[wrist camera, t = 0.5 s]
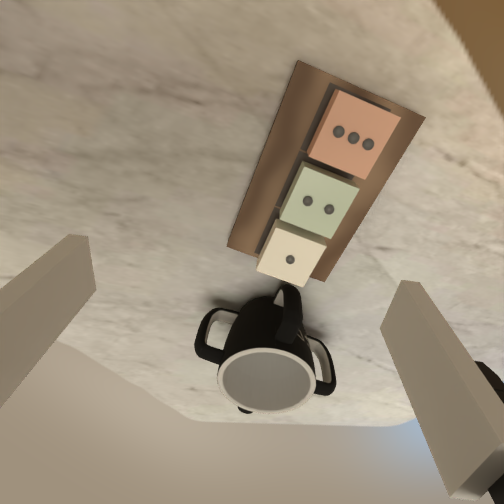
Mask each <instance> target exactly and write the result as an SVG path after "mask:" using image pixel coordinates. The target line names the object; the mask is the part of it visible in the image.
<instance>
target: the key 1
mask: <svg viewBox="0 0 504 504" xmlns="http://www.w3.org/2000/svg"><path fill="white" fill-rule="evenodd" d="M326 247H327V246H326V243H325V239H324V237H323V236H321V235H318V234H315V233H313V232H310V231H308V230H305V229H302V228H300V227H297V226H294V225H292V224H289V223H287V222H284V221H281V220H279V219H276V220H275V222H274V224H273V226H272V228H271V231H270V233H269V235H268V237H267V239H266V242H265V244H264V246H263V248H262V250H261V253H260V255H259V257H258V259H257V265H256V271H258V272H261V273H264V274H267V275H269V276H272V277H275V278H278V279H281V280H283V281H286V282H289V283H292V284H295V285H297V286H300V287H304V285H305V283H306V281H307V280H308V278H309V276H310V275H311V273H312V271H313V269H314V268H315V266H316V264H317V262H318V261H319V259H320V257H321V255H322V254H323V252H324V250H325V249H326Z"/></svg>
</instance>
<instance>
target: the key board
mask: <svg viewBox="0 0 504 504" xmlns="http://www.w3.org/2000/svg"><path fill="white" fill-rule="evenodd" d="M335 89H337V90H340V91H342V92H345V93H347V94H349V95H351V96H354V97H356V98H358V99H360V100H363V101H365V102H367V103H369V104H372V105H374V106H376V107H378V108H381V109H383V110H385V111H387V112H390V113H392V114H394V115H396V116H399V117H401V119H400V120H399V122H398V124H397V126H396V127H395V129H394V131H393V133H392V134H391V136H390V138H389V140H388V141H387V143H386V145H385V146H384V148H383V150H382V152H381V153H380V155H379V157H378V159H377V160H376V162H375V164H374V165H373V167H372V169H371V171H370V172H369V174H368V176H367V178H366V179H365V180H364V179H362V178H359V177H357V176H355V175H352V174H350V173H347V172H345V171H342V170H340V169H338V168H335V167H333V166H330V165H328V164H325V163H323V162H321V161H318V160H316V159H313V158H311V157H309V156H308V153H307V150H308V148H309V145H310V143H311V141H312V139H313V137H314V134H315V132H316V130H317V128H318V126H319V123H320V121H321V119H322V117H323V115H324V113H325V110H326V108H327V106H328V104H329V102H330V99H331V97H332V95H333V93H334V91H335ZM425 118H426V117H424V116H421V115H419V114H417V113H415V112H413V111H410V110H408V109H406V108H404V107H401V106H399V105H397V104H395V103H393V102H390V101H388V100H386V99H384V98H381V97H379V96H377V95H375V94H372V93H370V92H368V91H366V90H364V89H361V88H359V87H357V86H355V85H352V84H350V83H348V82H346V81H344V80H341V79H339V78H337V77H335V76H332V75H330V74H328V73H326V72H324V71H321V70H319V69H317V68H315V67H312V66H310V65H308V64H306V63H304V62H301V61H299V60H298V61H297V64H296V66H295V69H294V72H293V74H292V77H291V79H290V82H289V84H288V87H287V90H286V92H285V95H284V97H283V100H282V103H281V105H280V108H279V110H278V113H277V116H276V118H275V121H274V123H273V126H272V128H271V131H270V134H269V136H268V139H267V141H266V144H265V147H264V149H263V152H262V154H261V157H260V160H259V162H258V165H257V167H256V170H255V172H254V175H253V178H252V180H251V183H250V185H249V188H248V191H247V193H246V196H245V198H244V201H243V204H242V206H241V209H240V211H239V214H238V217H237V219H236V222H235V224H234V227H233V229H232V232H231V235H230V237H229V240H228V243H227V247H229V248H232V249H235V250H237V251H240V252H243V253H246V254H248V255H251V256H254V257H257V258H258V257H259V255H260V253H261V250H262V248H263V246H264V244H265V242H266V239H267V237H268V235H269V233H270V231H271V228H272V226H273V224H274V222H275V220H276V219H279V220H280V209H281V207H282V204H283V202H284V200H285V198H286V196H287V193H288V191H289V189H290V187H291V185H292V183H293V180H294V178H295V176H296V174H297V172H298V169H299V167H300V165H301V163H302V161H305V162H307V163H310V164H312V165H315V166H317V167H320V168H322V169H324V170H327V171H329V172H332V173H334V174H337V175H339V176H342V177H344V178H346V179H349V180H351V181H354V182H355V183H356V184H357V186H358V187H359V189H360V190H359V191H358V193H357V195H356V197H355V198H354V200H353V202H352V204H351V205H350V207H349V209H348V210H347V212H346V214H345V216H344V217H343V219H342V221H341V223H340V224H339V226H338V228H337V230H336V231H335V233H334V235H333V236H332V238H331V239H329V238H327V237H324V236H323V237H324V239H325V243H326V246H327V247H326V249H325V250H324V252H323V254H322V255H321V257H320V259H319V261H318V262H317V264H316V266H315V268H314V269H313V271H312V273H311V275H310V276H309V277H312V278H314V279H317V280H320V281H323V282H325V281H326V279H327V277H328V276H329V274H330V272H331V271H332V269H333V268H334V266H335V264H336V263H337V261H338V259H339V258H340V256H341V255H342V253H343V251H344V250H345V248H346V246H347V245H348V243H349V242H350V240H351V238H352V237H353V235H354V233H355V232H356V230H357V229H358V227H359V225H360V224H361V222H362V220H363V219H364V217H365V216H366V214H367V212H368V211H369V209H370V207H371V206H372V204H373V203H374V201H375V199H376V198H377V196H378V194H379V193H380V191H381V190H382V188H383V186H384V185H385V183H386V181H387V180H388V178H389V177H390V175H391V173H392V172H393V170H394V168H395V167H396V165H397V164H398V162H399V160H400V159H401V157H402V155H403V154H404V152H405V151H406V149H407V147H408V146H409V144H410V142H411V141H412V139H413V138H414V136H415V134H416V133H417V131H418V129H419V128H420V126H421V124H422V123H423V121H424V120H425ZM281 221H282V220H281ZM284 222H285V221H284ZM287 223H288V222H287ZM289 224H290V223H289ZM292 225H293V224H292ZM294 226H295V225H294ZM297 227H298V226H297ZM300 228H301V227H300ZM302 229H303V228H302ZM305 230H306V229H305ZM308 231H309V230H308ZM310 232H311V231H310ZM313 233H314V232H313ZM315 234H316V233H315ZM318 235H319V234H318ZM321 236H322V235H321Z"/></svg>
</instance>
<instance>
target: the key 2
mask: <svg viewBox="0 0 504 504" xmlns="http://www.w3.org/2000/svg"><path fill="white" fill-rule="evenodd" d="M359 190H360V189H359V187H358V186H357V184H356V183H355V182H354V181H351V180H349V179H346V178H344V177H342V176H339V175H337V174H334V173H332V172H329V171H327V170H324V169H322V168H320V167H317V166H315V165H312V164H310V163H307V162H305V161H302V163H301V165H300V167H299V169H298V172H297V174H296V176H295V178H294V180H293V183H292V185H291V187H290V189H289V191H288V193H287V196H286V198H285V200H284V202H283V204H282V207H281V209H280V220H282V221H285V222H288V223H290V224H293V225H295V226H298V227H301V228H303V229H306V230H309V231H311V232H314V233H316V234H319V235H322V236H324V237H327V238H329V239H331V238H332V236H333V235H334V233H335V231H336V230H337V228H338V226H339V224H340V223H341V221H342V219H343V217H344V216H345V214H346V212H347V210H348V209H349V207H350V205H351V204H352V202H353V200H354V198H355V197H356V195H357V193H358V191H359Z"/></svg>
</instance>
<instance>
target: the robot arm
mask: <svg viewBox="0 0 504 504" xmlns="http://www.w3.org/2000/svg"><path fill="white" fill-rule="evenodd" d="M95 291H96V285H95V279H94V273H93V266H92V260H91V253H90V247H89V241H88V237H86V236H79V235H72V234H69V235H68V236H66V237H65V238H64V239H63V240H61V241H60V242H59V243H58V244H56V245H55V246H54V247H53V248H51V249H50V250H49V251H48V252H46V253H45V254H44V255H43V256H41V257H40V258H39V259H38V260H36V261H35V262H34V263H33V264H31V265H30V266H29V267H28V268H26V269H25V270H24V271H23V272H21V273H20V274H19V275H18V276H16V277H15V278H14V279H13V280H11V281H10V282H9V283H8V284H6V285H5V286H4V287H3V288H1V289H0V408H1V407H2V405H3V404H4V403H5V402H6V401H7V399H8V398H9V397H10V396H11V394H12V393H13V392H14V391H15V389H16V388H17V387H18V386H19V385H20V383H21V382H22V381H23V380H24V378H25V377H26V376H27V375H28V373H29V372H30V371H31V370H32V369H33V367H34V366H35V365H36V364H37V362H38V361H39V360H40V359H41V357H42V356H43V355H44V354H45V352H46V351H47V350H48V349H49V347H50V346H51V345H52V344H53V343H54V341H55V340H56V339H57V338H58V336H59V335H60V334H61V333H62V332H63V330H64V329H65V328H66V327H67V325H68V324H69V323H70V322H71V320H72V319H73V318H74V317H75V315H76V314H77V313H78V312H79V311H80V309H81V308H82V307H83V306H84V304H85V303H86V302H87V301H88V299H89V298H90V297H91V296H92V295H93V293H94V292H95ZM380 330H381V333H382V335H383V337H384V340H385V342H386V345H387V347H388V349H389V352H390V354H391V357H392V359H393V362H394V364H395V366H396V369H397V371H398V374H399V376H400V378H401V381H402V383H403V386H404V388H405V391H406V393H407V395H408V398H409V400H410V403H411V405H412V408H413V410H414V412H415V415H416V417H417V420H418V422H419V424H420V427H421V429H422V432H423V434H424V436H425V439H426V441H427V444H428V446H429V449H430V451H431V453H432V456H433V458H434V461H435V463H436V466H437V468H438V470H439V473H440V475H441V478H442V480H443V482H444V485H445V487H446V490H447V492H448V495H449V497H450V498H457V499H465V500H472V501H477V500H478V499H479V498H481V497H482V496H483V495H484V494H485V493H486V492H487V491H489V493H490V495H491V497H492V499H493V501H494V503H495V504H504V383H503V382H502V380H501V379H500V378H499V376H498V375H497V374H495V373H494V372H493V371H492V370H491V369H490V368H489V367H487V366H486V365H485V364H484V363H483V362H478V361H474V360H473V359H472V357H471V356H470V355H469V353H468V352H467V350H466V349H465V347H464V346H463V344H462V343H461V342H460V340H459V339H458V337H457V336H456V334H455V333H454V331H453V330H452V329H451V327H450V326H449V324H448V323H447V321H446V320H445V318H444V317H443V316H442V314H441V313H440V311H439V310H438V308H437V307H436V305H435V304H434V303H433V301H432V300H431V298H430V297H429V295H428V294H427V292H426V291H425V289H424V288H423V287H422V285H421V284H420V282H413V281H406V280H401V282H400V284H399V286H398V289H397V291H396V293H395V295H394V298H393V300H392V302H391V304H390V307H389V309H388V311H387V313H386V316H385V318H384V320H383V322H382V325H381V327H380Z"/></svg>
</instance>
